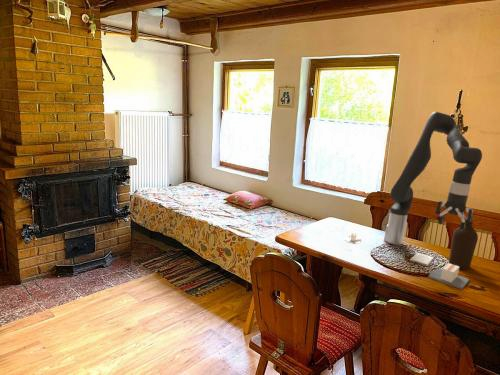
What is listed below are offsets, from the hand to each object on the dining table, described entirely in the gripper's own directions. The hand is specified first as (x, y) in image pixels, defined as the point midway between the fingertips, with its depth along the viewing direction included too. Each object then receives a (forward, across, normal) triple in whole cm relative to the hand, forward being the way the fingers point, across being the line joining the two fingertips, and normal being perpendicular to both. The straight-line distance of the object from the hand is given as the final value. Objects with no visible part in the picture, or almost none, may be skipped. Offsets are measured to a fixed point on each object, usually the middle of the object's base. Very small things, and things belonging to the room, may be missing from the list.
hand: (450, 226), depth 167 cm
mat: (+24, -5, +2) cm, 24 cm away
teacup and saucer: (+26, +44, -6) cm, 52 cm away
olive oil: (+24, -3, -20) cm, 31 cm away
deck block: (+23, -5, +2) cm, 23 cm away
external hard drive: (+25, +12, -11) cm, 29 cm away
